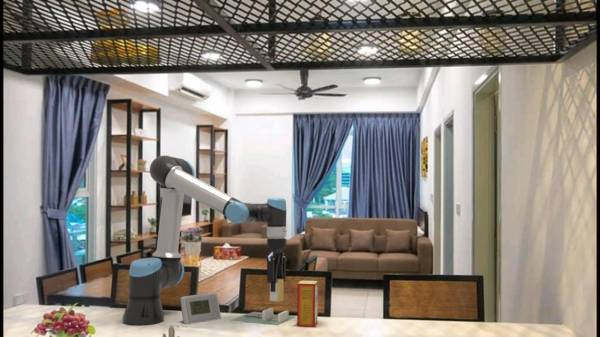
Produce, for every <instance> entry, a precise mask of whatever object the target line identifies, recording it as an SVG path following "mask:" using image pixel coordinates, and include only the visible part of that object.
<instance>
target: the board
mask: <svg viewBox="0 0 600 337" xmlns="http://www.w3.org/2000/svg"><path fill="white" fill-rule="evenodd" d="M289 314H290V312H289V310H284V311H281V312H280V313H278V314H274V307H270V308H267V309H265V310H262V312H261V311H252V312H249V313H247V314H243V315H241V316H238V317H235V318H232V319H230V321H232V322H241V323H243V322H244V323H250V324H259V325H260V324H261V325H270V326H271V325H272V326H279V325H282V324H284V323H287V322H289V321H291V320H292V319H295V318H296V316H293V315H289Z"/></svg>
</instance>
